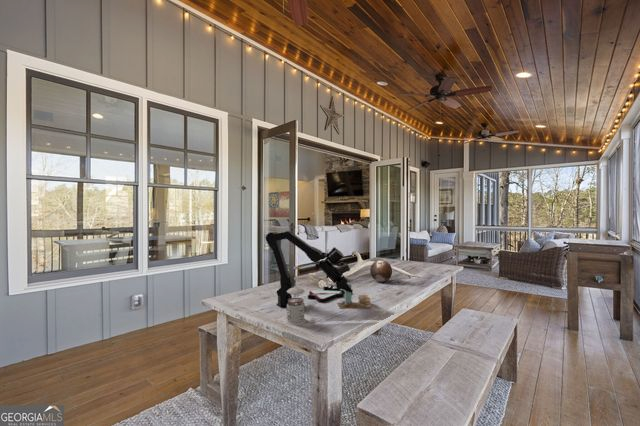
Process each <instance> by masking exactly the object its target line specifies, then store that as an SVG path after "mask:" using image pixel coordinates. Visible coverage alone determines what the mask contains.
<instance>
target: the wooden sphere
mask: <svg viewBox="0 0 640 426" xmlns="http://www.w3.org/2000/svg"><path fill="white" fill-rule="evenodd" d="M369 270H370V271H369V273H370V276H371V277H372V279H373V280H374V281H376V282H379V283H385V282H387V281H388V280H390V279H391V276H393V275H392V274H393V268H392V266H391V264H390V263H389V262H388V261H386V260H383V259H379V260H378V259H377V260H376V261H374V262H372V264H371V265H370V268H369Z"/></svg>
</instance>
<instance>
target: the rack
mask: <svg viewBox="0 0 640 426" xmlns="http://www.w3.org/2000/svg"><path fill="white" fill-rule="evenodd" d="M357 297H358V300H357V301H354V302H353V300H351V303H348V304H345V300H342V302H337V303H336V304H337V306H338V308H339V310H354V309H355V310H357V309H358V310H359V309H364V310H365V309H372V307H371V306H372V305H371V297H370V296H369V295H368V294H358V295H357Z"/></svg>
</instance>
